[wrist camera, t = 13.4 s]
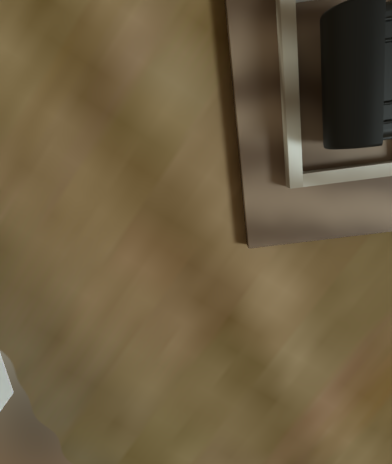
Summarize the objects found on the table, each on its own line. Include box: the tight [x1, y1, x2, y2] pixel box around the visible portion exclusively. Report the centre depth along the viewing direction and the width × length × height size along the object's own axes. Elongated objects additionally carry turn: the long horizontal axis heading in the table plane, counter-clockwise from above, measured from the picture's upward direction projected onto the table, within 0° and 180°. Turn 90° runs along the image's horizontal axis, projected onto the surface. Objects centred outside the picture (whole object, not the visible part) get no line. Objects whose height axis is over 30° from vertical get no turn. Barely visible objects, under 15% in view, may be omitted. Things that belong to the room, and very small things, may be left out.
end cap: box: [320, 0, 392, 150], centre depth 27 cm, size 10×7×7 cm
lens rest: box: [225, 0, 392, 248], centre depth 30 cm, size 28×20×3 cm
